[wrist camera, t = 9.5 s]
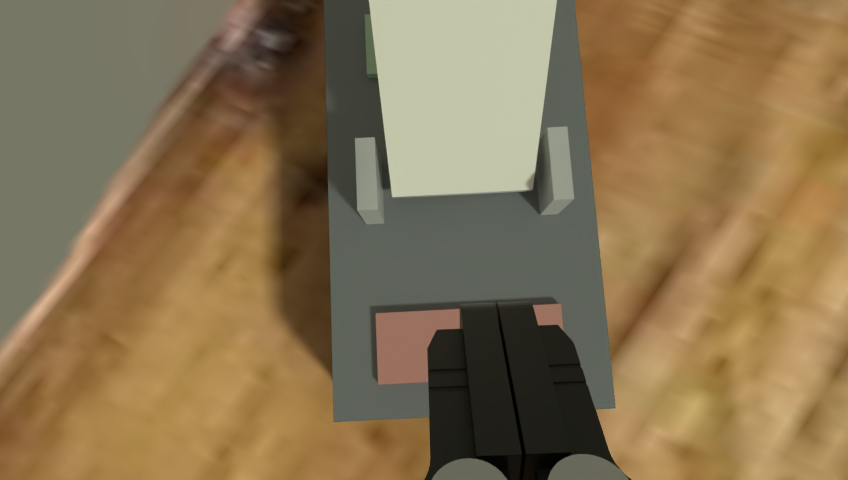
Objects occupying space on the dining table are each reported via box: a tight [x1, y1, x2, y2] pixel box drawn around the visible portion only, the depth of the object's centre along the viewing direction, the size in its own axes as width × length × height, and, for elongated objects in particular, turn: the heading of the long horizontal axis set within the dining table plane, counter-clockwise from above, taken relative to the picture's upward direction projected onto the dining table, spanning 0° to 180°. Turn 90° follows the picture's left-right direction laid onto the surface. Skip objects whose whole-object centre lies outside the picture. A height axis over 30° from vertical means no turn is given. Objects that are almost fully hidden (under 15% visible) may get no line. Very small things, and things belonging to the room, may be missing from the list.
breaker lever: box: [369, 0, 557, 199], centre depth 20 cm, size 2×6×14 cm
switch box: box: [324, 0, 616, 422], centre depth 27 cm, size 20×12×9 cm, turn 3°
